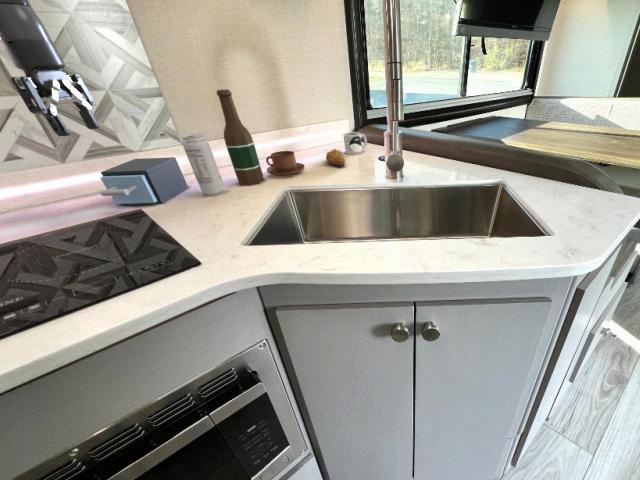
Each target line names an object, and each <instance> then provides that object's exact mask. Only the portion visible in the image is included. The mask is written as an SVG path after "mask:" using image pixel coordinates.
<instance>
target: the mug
mask: <svg viewBox="0 0 640 480" xmlns="http://www.w3.org/2000/svg"><path fill="white" fill-rule="evenodd" d="M342 136H343V141H344V144H343V145H344V150H345V151H344V153H345V154H346V155H359V154H362V153H363V149H366V147H368V139H367V135H366V134H363V133H361V132H357V131H351V132H345V133H343V134H342ZM362 138H363V140H364V141H363V142H364V143H362Z"/></svg>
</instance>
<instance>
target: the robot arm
mask: <svg viewBox="0 0 640 480" xmlns="http://www.w3.org/2000/svg"><path fill="white" fill-rule="evenodd" d="M0 43H1V45H2V47H3V50H5V52H6V54H7V55H8V57H9V58H10V60H11V61H12V63H13V65H14V67H15V68H17V69H19V70H22V72H23V73H24V75H23V76H22V75H20V76H19V75H18V76H11V77H10V81H11V83H12V84H13V86H14V88H15V90H16V91H17V92H18V94H19V96H20V98H21V100H22V101H23V103H24V105H25V106H26V107H27V109H28V111H29V113H31V114H33V115H34V114H37V115H41V116H43V117H44V118H45V120H46V121H47V123H48V124H49V126H50V128H51V129H52V131H53V132H54V133H55V134H56V135H57V136H58V137H69V136H71V133H70V131H69V129H68V127H67V125H65V122H64V121H63V119H62V118H61V115H58V105H59V104H60V101H65V102H67V103H69V104H71V105H72V106H73V107H74V108H76V109H77V112H78V113H79V115H80V117H81V119H82V121H83V122H84V125H85V127H86V128H87V129H89V130H97V129H100V126H99V122H98V121H97V119H96V116H95V115H94V114H93V111H92V107H93V106H96V101H95V100H94V98H93V96H92V94H91V93H90V91H89V89H88V87H87V86H86V84H85V82H84V81H83V79H82V77H81V75H80V74H79V73H66V72H65V71H64V68H66V63H65V61H64V60H63V58H62V56H61V54H60V52H59V50H58V49H57V46H56V44H55V42H54V41H53V39H52V38H51V36H50V34H49V32H48V30H47V29H46V27H45V25H44V23H43V21H42V20H41V18H40V16H39V15H38V14H37V13H36V11H35V9H34V8H33V7H32V4H31V3H30V0H0ZM83 95H84V96H83ZM84 97H85V98H84ZM34 103H35V104H34Z"/></svg>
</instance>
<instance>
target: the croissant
mask: <svg viewBox="0 0 640 480" xmlns="http://www.w3.org/2000/svg"><path fill="white" fill-rule="evenodd" d="M325 159H326V161H327V162H328V163H329V164H330V165H333V166H336V167H345V165H346V157H345V154H343V152H342V151H341V150H338V149H336V148H333V149H331V150H330V151H327V152H326V156H325Z"/></svg>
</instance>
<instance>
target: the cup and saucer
mask: <svg viewBox="0 0 640 480" xmlns="http://www.w3.org/2000/svg"><path fill="white" fill-rule="evenodd" d="M270 159H271V162H272V163H270V161H269V160H270ZM265 161H266V164H267V166H269V167H267V168H266V172H267V173H268V174H269V175H272V176H275V177H287V176H294V175H297V174H300V173H301V172H302V171H304V169H305V164H304V163H301V162H297V160H296V154H295V152H294V151H292V150H281V151H275V152H272V153H271V154H270V155H268V156H267V157H266V158H265Z"/></svg>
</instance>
